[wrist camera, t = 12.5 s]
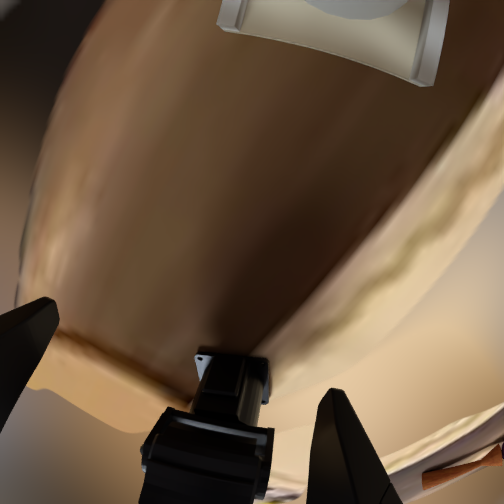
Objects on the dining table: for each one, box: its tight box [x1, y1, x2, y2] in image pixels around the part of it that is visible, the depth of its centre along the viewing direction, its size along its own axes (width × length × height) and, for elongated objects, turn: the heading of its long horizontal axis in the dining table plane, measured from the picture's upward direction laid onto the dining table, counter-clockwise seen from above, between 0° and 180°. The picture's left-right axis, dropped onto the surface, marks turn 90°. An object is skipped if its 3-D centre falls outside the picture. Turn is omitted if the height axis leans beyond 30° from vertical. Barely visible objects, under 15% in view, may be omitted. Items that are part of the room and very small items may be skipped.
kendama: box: [422, 443, 504, 490], centre depth 30 cm, size 6×6×20 cm
